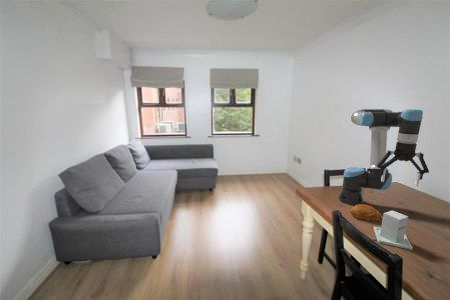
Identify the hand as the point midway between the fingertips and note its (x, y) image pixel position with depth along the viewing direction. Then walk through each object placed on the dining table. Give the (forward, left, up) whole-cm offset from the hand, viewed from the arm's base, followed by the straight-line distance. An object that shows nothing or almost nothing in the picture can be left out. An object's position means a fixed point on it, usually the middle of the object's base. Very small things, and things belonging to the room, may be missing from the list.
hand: (398, 183), depth 109 cm
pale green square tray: (+8, -1, -27) cm, 28 cm away
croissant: (-13, -10, -28) cm, 32 cm away
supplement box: (+8, -1, -27) cm, 28 cm away
